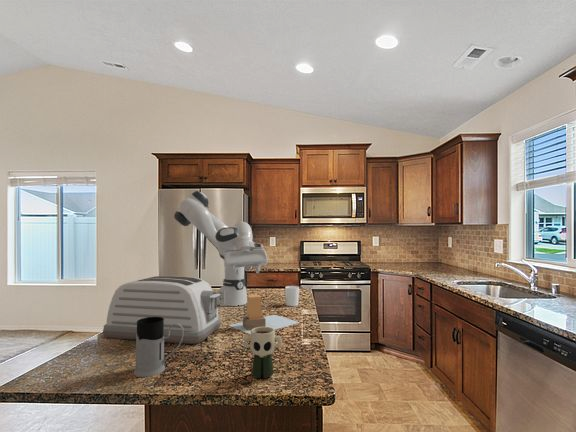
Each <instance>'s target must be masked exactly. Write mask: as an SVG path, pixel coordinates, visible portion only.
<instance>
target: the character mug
mask: <svg viewBox="0 0 576 432" xmlns="http://www.w3.org/2000/svg"><path fill="white" fill-rule="evenodd" d="M248 340H250V344H249V343H248ZM276 340H277V343H276ZM243 346H244V348H247V349H249V348H250V351H251V353H252V354H253V362H252V368H251V375H252V376H253V377H254V378H256V379H257V378H258V379H261V376H262V375H263V379H267V378H270V377H271V376H273V374H274V372H275V371H274V363H273V356H272V355H271V354H273V353H274V352H275V350H276V348H281V347H282V337H281V335H276V329H275V330H274V328H271V327H256V328H253V329H252V330H251V335H246V336H244V338H243Z"/></svg>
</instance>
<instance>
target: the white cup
mask: <svg viewBox="0 0 576 432" xmlns="http://www.w3.org/2000/svg"><path fill="white" fill-rule="evenodd" d="M284 293H285V304H286V305H285V306H287V307H298V306H299V298H300V286H298V285H287V286H285V291H284Z"/></svg>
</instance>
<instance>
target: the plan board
mask: <svg viewBox="0 0 576 432" xmlns="http://www.w3.org/2000/svg"><path fill="white" fill-rule="evenodd" d="M263 317H264V318H265V319H266V327H271V328H274V330H275V331H276V330H278V329H282V328H286V327H289V326H292V325H294V326H295V325H296V324H299V323H301V322H300V321H297V320H294V319H290V318H288V317H287V318H286V317H283V316H280V315H277V314H271V315H268V316H263ZM228 326H229V327H231V328H233V329H236V330H239V331H241V332H243V333H246V334H248V335H249V336H251V330H246V329H245V327H244V326H243V321H242V322H238V323H233V324H228Z"/></svg>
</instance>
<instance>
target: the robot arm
mask: <svg viewBox="0 0 576 432" xmlns="http://www.w3.org/2000/svg"><path fill="white" fill-rule="evenodd" d="M208 209H209V199H208V197H207V196H206V194H205V193H203V192H201V191H198V190H195V191H193V192H192V193H191V195H189V197H187V198H184V199H182V201H181V202H180V204H179V208H178V209H177V210H176V211H175V213H174V215H173V218H174V220H175V222H177V224H179V225H180V226H183V227H188V226H189V225H191V224H192V225H193V226H194V227H195V228H197V230H198V231H200V233H201V234H202V235H203V236H204V237H205V238H206V239H207V240H208V241H209V242H210V243H211V244H212V246H213V247H215V249H216V250H217V252H218V254H219V258H220V259H222V260H223V262H224V279H223V278H222V282H223V283H222V286H221V287H220V288H219V289H218V290H217V291H216V292H217V294H221V295H219V296H217V306H219V305H220V306H219V307H236V306H237V307H239V306H245V305H247V304H246V303H247V295H248V293H247V287H246V286H245V285H246V278H245V268H248V267H256V268H255V274H259V273H260V269H261V267H263V266H267V265H268V263H269V259H268V254H267V252H266V250H265V248H264V244H262V243H259V242H255V241H253V238H254V236H253V231H252V228H251V225H250V224H249V223H247V222H246V221H239V222H236V223H235V224H234V225H232V226H230V227H229V226H228V225H226V224H225V223H224V222H223V221H222V220H221V219H219V218H218V217H217V216H215V215H214V214H213V213H211V212H210V211H209V210H208ZM238 305H239V306H238Z"/></svg>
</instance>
